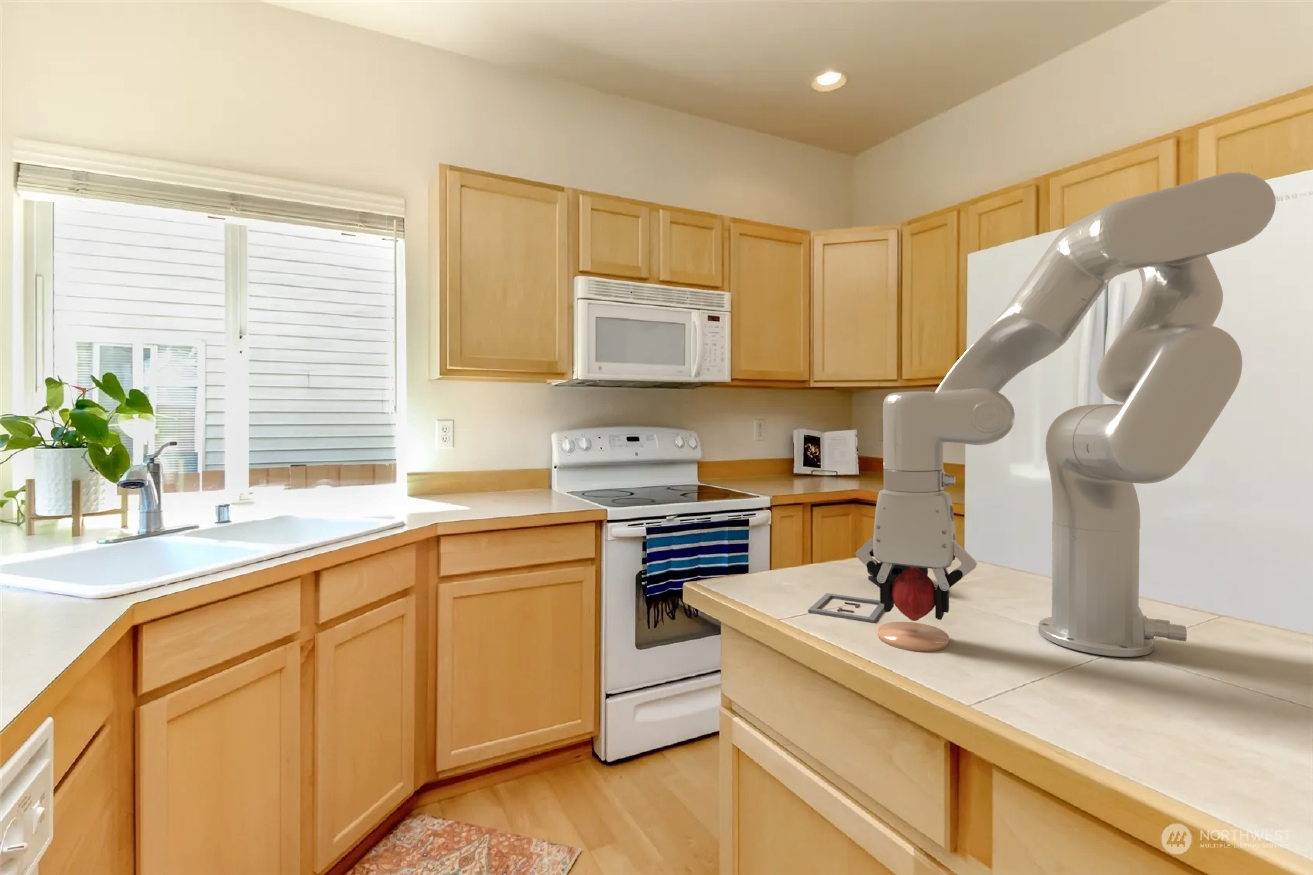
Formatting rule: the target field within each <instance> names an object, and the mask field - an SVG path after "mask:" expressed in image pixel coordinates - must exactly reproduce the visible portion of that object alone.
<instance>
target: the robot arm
mask: <svg viewBox="0 0 1313 875" xmlns="http://www.w3.org/2000/svg"><path fill="white" fill-rule="evenodd" d="M1276 203H1277V202H1276V195H1275V192H1274V190H1273V188H1272V187H1271V185H1270V184H1269V183H1268V182H1266V180H1264V179H1263V178H1261V177H1260V176H1257V175H1255V174H1253V173H1252V174H1251V173H1248V172H1241V171H1239V172H1238V171H1236V172H1224V173H1221V174H1217V175H1211V176H1208V177H1204V178H1201V179H1197V180H1194V181H1190V182H1187V183H1186V182H1185V183H1183V184H1179V185H1175V186H1171V187H1167V188H1164V189H1163V188H1162V189H1160V190H1156V191H1152V192H1151V191H1150V192H1148V193H1144V194H1140V195H1136V196H1133V197H1129V198H1125V199H1122V200H1118V201H1116V202H1112V203H1111V204H1108V205H1106V206H1104V207H1102V208H1100V209H1098V210H1096V211H1095V212H1092V213H1090V214H1089V215H1087V216H1084V217H1082V218H1080V219H1078V220H1076V221H1074V222H1073V223H1071V224H1069V225H1068V226H1066V228H1064V229H1063V230H1062V231H1061V232H1060V233H1058V234H1057V236H1056V237H1055V238H1054V240H1053V241H1052V243H1051V244H1050V246H1048V248H1047V250H1046V251H1045V253H1043V256H1042V257H1040V259H1039V261H1038V262H1037V264H1035V266H1034V268H1033V270H1031V272H1030V274H1029V275H1028V276H1027V278H1026V279H1025V281H1024V282H1023V284H1022V285H1021V286H1020V288H1019V289H1018V290H1017V292H1016V293H1015V295H1014V296H1013V298H1012V299H1011V301H1010V302H1009V303H1008V305H1007V306H1006V307H1005V309H1004V310H1003V311H1002V313H1001V314H1000V315H999V316H998V317H997V318H996V319H995V320H994V321H992V323H990V325H989V326H988V327H987V328H986V329H985V331H983V333H982V334H981V335H980V336H979V337H978V338H977V339H976V340H975V341H974V342H973V343H972V344H971V345H970V346H969V348H967V349H966V351H965V352H964V353H963V354H962V355H961V356H960V357H959V359H958V360H956V362H955V363H954V364H953V366H952V367H951V369H950V370H949V371H948V372H947V374H946V376H944V378H943V380H942V381H941V383H940V384H939V385H938V386H937V388H936V390H935V391H927V390H926V391H925V390H923V391H921V390H920V391H918V390H916V391H899V392H896V391H895V392H892V393H889V394H887V396H885V398H884V400H883V404H882V432H883V433H882V437H883V438H882V442H883V454H882V455H883V458H882V459H883V462H882V463H883V467H882V468H883V489H881V490H879V492H878V495H877V498H876V499H877V500H876V506H875V512H874V524H873V526H874V527H873V535H872V537H870V538H869V539H868V540H867V541H866V542H865V543H864V544H863V545H861V547H860V548H858V549H857V550H856V551H855V557H856V558H857V559H859V561H860V562H861V563H862V564H863V565H865V566H866V569H867V568H868V569H869V571H870V572H871V573H872V574H873V575H874V576H875V577H876V578H877V581H878V582H879V583H880V588H879V600H880V603H881V604H884V610H883V612H884V613H889V612H891V611H892V609H893V608H894V607H895V604H894V602H893V600H892V596H891V592H892V586H893V582H894V581H893V580H892V579H891V576H890V574H891V571H892V569H893V567H894V565H902V566H912V567H921V568H928V569H932V572H933V574H934V576H935V580H936V582H937V586H936V590H935V607H934V608H935V609H934V610H935V614H934V615H935V616H934V617H935V619H937V620H939V621H942V619H943V618H944V615H945V613H946V614H947V613H949V611H950V588H951V587H953V586H954V585H955V584H957V583H958V582H959V581H960V580H962V578H964V577H965V576H967V575H968V574H969V573H971V572H972V571H973V570H975V569H976V567H977V565H978V563H977V561H976V560H975V558H973V557H972V556H971V555H970V553H968V552H967V551H966V550H965V548H963V546H961V545H960V544H959V543H958V542H957V541H956V539H957V538H956V526H955V525H956V524H955V523H956V522H955V515H954V514H955V513H954V507H953V501H952V497H951V493H950V492H948V491H944V489H945V488H946V487H950V486H955V485H956V475H955V474H949V473H947V472H945V469H944V443H951V444H952V443H955V444H964V445H970V446H985V445H990V444H993V443H996V442H998V441H1000V440H1003V438H1004V437H1006V436H1007V435H1008V434H1009V433H1010V432H1011V430H1012V428H1013V426H1014V425H1015V418H1016V415H1015V414H1016V413H1015V408H1014V407H1013V404H1012V402H1011V401H1010V400H1009V398H1008V397H1006V396H1005V395H1003V394H1002V393H1001V392H1000V391H1001V390H1002V389H1003V388H1004V387H1005V386H1006V385H1007V384H1008V383H1009V382H1010V381H1011V380H1013V379H1014V378H1015V377H1016V376H1017V375H1018V374H1020V373H1021V372H1022V371H1024V370H1025V369H1027V368H1029V367H1030V366H1032V365H1034V364H1036V363H1038V362H1040V361H1041V360H1043V359H1045V358H1046V357H1048V356H1049V355H1051V354H1052V353H1054V352H1055V351H1057V350H1059V348H1060V347H1062V346H1063V345H1064V344H1066V343H1067V341H1068V340H1069V339H1070V338H1071V337H1072V335H1073V333H1074V332H1075V331H1076V329H1077V327H1078V326H1079V325H1080V324H1081V322H1082V320H1083V319H1084V318H1085V316H1086V315H1087V313H1088V312H1089V311H1090V310H1091V308H1092V307H1093V305H1094V304H1095V302H1096V301H1097V300H1098V298H1099V297H1100V295H1102V292H1103V291H1104V290H1105V289H1106V287H1107V286H1108V285H1109V283H1111V281H1112V280H1113V279H1114V278H1115V277H1117V276H1120V275H1123V274H1126V273H1129V272H1132V271H1136V270H1138V273H1139V276H1140V279H1141V293H1140V296H1139V298H1138V301H1137V303H1136V304H1135V306H1134V309H1133V310H1132V312H1131V314H1130V315H1129V317H1128V319H1127V320H1126V322H1125V323H1124V324H1123V326H1122V328H1121V329H1120V331H1119V333H1118V335H1117V336H1116V338H1115V339H1114V341H1113V342H1112V344H1111V346H1110V347H1109V348H1108V350H1107V351H1106V354H1105V355H1104V356H1103V358H1102V360H1101V362H1100V364H1099V367H1098V369H1097V374H1096V376H1097V377H1096V379H1097V381H1096V382H1097V385H1098V387H1099V389H1100V391H1101V392H1102V393H1103V395H1105V396H1106V397H1107V398H1109V399H1111V400H1113V401H1115V402H1119V403H1121V404H1119V403H1118V404H1117V403H1115V404H1114V403H1110V404H1109V403H1106V404H1105V403H1103V404H1099V403H1098V404H1085V405H1080V406H1075V407H1072V408H1069V409H1067V410H1065V411H1064V412H1062V413H1061V414H1059V415H1058V416H1057V417H1056V418H1055V419H1054V420H1053V421H1052V422H1051V424H1050V426H1049V428H1048V430H1047V433H1046V437H1045V455H1046V462H1047V466H1048V470H1049V476H1050V481H1051V482H1050V484H1051V493H1052V494H1051V496H1052V498H1051V499H1052V520H1051V521H1052V522H1051V524H1052V526H1051V528H1052V532H1051V533H1052V535H1051V536H1052V537H1051V540H1052V541H1051V548H1052V549H1051V616H1049V617H1046V618H1043V619H1040V620H1039V622H1038V632H1039V634H1040V635H1041V636H1042V637H1043V638H1045V639H1046V640H1048V641H1050V642H1051V643H1052V642H1053V643H1055V644H1056V645H1059V646H1061V647H1064V648H1068V649H1072V650H1073V651H1074V650H1075V651H1078V652H1083V653H1088V654H1092V655H1100V656H1106V657H1107V656H1108V657H1116V658H1117V657H1119V658H1121V657H1122V658H1127V657H1128V658H1133V657H1141V656H1146V655H1150V654H1151V653H1152V652H1153V651H1154V648H1155V647H1154V646H1155V642H1154V638H1155V637H1159V638H1162V639H1163V638H1165V639H1168V640H1172V641H1179V642H1187V638H1188V636H1187V634H1188V633H1187V631H1188V630H1187V627H1186V625H1184V624H1183V625H1181V624H1174V623H1170V620H1167V619H1160V618H1159V619H1158V618H1149V617H1147V615H1144V614H1143V612H1142V610H1141V608H1140V604H1139V602H1140V601H1139V598H1140V591H1139V590H1140V531H1141V509H1140V503H1139V496H1138V494H1137V491H1136V487H1135V485H1134V484H1139V485H1140V484H1143V485H1145V484H1156V483H1160V482H1162V481H1165V480H1168V479H1169V478H1172V477H1173V476H1174V475H1176V474H1178V473H1179V472H1180V471H1181V470H1183V468H1184V467H1185V466H1186V465H1187V464H1188V462H1189V461H1190V460H1191V459H1192V457H1193V456H1194V454H1195V453H1196V452H1197V450H1198V449H1199V448H1200V445H1201V444H1202V443H1203V441H1204V439H1205V438H1206V437H1207V435H1208V433H1209V431H1211V429H1212V428H1213V427H1214V424H1215V423H1216V421H1217V419H1219V416H1220V415H1221V414H1222V412H1223V410H1224V409H1225V407H1226V406H1227V405H1228V402H1229V401H1230V399H1231V398H1232V396H1233V394H1234V392H1235V391H1236V389H1237V387H1238V385H1239V382H1240V380H1241V375H1242V369H1243V355H1242V351H1241V349H1240V347H1239V344H1238V342H1237V341H1236V340H1235V338H1234V337H1233V336H1232V335H1231V334H1230V333H1228V332H1227V331H1225V330H1224V329H1221V328H1220V327H1217V326H1214V323H1215V322H1216V320H1217V319H1218V317H1219V314H1220V312H1221V309H1222V306H1223V301H1224V293H1223V288H1222V285H1221V282H1220V279H1219V277H1218V275H1217V273H1216V271H1215V269H1214V267H1213V265H1212V263H1211V261H1210V258H1209V257H1208V255H1212V254H1215V253H1219V252H1221V251H1225V250H1228V249H1230V248H1235V247H1237V246H1240V245H1242V244H1245V243H1247V242H1249V241H1251V240H1252V239H1254V238H1255V237H1257V236H1258V235H1259V234H1261V233H1262V232H1263V231H1264V230H1265V228H1266V227H1267V226H1268V225H1269V223H1270V222H1271V220H1272V218H1273V216H1274V213H1275V212H1276V211H1275V210H1276V207H1277V206H1276V205H1277V204H1276ZM1122 403H1123V404H1122ZM872 549H873V553H874V558H873V557H871V555H870V551H871V550H872ZM956 559H957V560H958V561H959V562H960V563H961V564H960V565H959V566H958V567H957V568H955V569H953V570H952V571H951V572H949V570H948V568H950V567H951V566H952V565H953V561H955V560H956ZM880 562H882V563H883V564H882V566H881V565H880V564H879V563H880Z"/></svg>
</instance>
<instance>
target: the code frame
mask: <svg viewBox="0 0 1313 875" xmlns="http://www.w3.org/2000/svg"><path fill="white" fill-rule="evenodd" d="M831 599H836V600H844V604H845V605H853V606H855V608H858V609H859V607H861V606H860V605H861V604H860V603H865V604H870V605H871V604H872V605H876V607H875V609H874V610H873V611H872V612H871V613H870V615H869V616H865V615H858V614H852V613H855V610H853V609H852V610H851V609H844V608H843V607H839V608H837V609H836V611H832V610H825V609H821V608H822V606H824V604H826V603H827V602H828V601H829V600H831ZM847 601H852V602H847ZM854 602H858V603H854ZM846 612H847V613H846ZM848 612H849V613H848ZM883 612H884V604H881V603H880V599H879V600H878V599H873V598H872V599H870V598H864V597H858V596H857V597H856V596H850V595H843V594H842V595H841V594H835V593H829V592H826V593H825V594H824V595H822V597H820V598H819V600H817V601H816V602H815V603H814V604H813V605H812V606H811V607H809V608H808V609H807V613H811V614H817V615H823V616H830V617H836V618H843V619H847V620H854V621H860V622H861V621H862V622H867V623H876V621H877V620H878V618H879V617H880V616H881V614H882V613H883Z"/></svg>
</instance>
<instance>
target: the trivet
mask: <svg viewBox="0 0 1313 875" xmlns="http://www.w3.org/2000/svg"><path fill="white" fill-rule="evenodd" d="M877 637H878V638H879V640H880V641H881V642H882V643H884V644H887V645H889V646H892V647H895V648H898V649H901V650H905V651H906V650H907V651H911V652H912V651H914V652H935V651H936V652H937V651H941V650H943V649H946V648H947V647H948V646H949V645H950V638H949V637H950V636H949V634H948V633H947V632H946V631H945V630H942V629H941V628H938V627H935V626H933V625H929V624H927V623H926V624H925V623H921V622H915V621H892V622H886V623H883V624H881V625H879V626H878V628H877Z"/></svg>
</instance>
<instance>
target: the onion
mask: <svg viewBox="0 0 1313 875" xmlns="http://www.w3.org/2000/svg"><path fill="white" fill-rule="evenodd" d="M936 589H937V587H936V585H935V583H934V581H933V580H932V578H930V577H929V575H928V576H927V575H926V574H925V573H923V572H922V571H920V570H919V569H918V567H912V566H910V567H909V568H908V570H906V571H904V572H903V573H901V574H900V575H899V576H898V577H897V578H896V579H895V581H894V582H893V586H892V592H891V596H892V600H893V602H894V607H896V609H898V611H899V612H900V614H903V615H904V616H905V617H907V618H908V619H909V620H910V621H911V622H916V621H919V620H920V619H922V618H923V617H925V616H927V615H928V614H930V613H931V612H932V611H933V610H934V608H935V590H936Z"/></svg>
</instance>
